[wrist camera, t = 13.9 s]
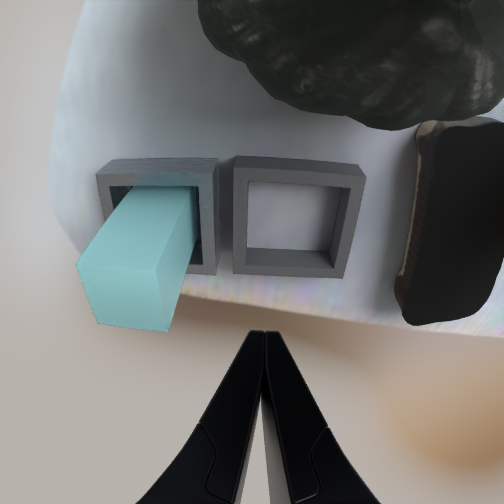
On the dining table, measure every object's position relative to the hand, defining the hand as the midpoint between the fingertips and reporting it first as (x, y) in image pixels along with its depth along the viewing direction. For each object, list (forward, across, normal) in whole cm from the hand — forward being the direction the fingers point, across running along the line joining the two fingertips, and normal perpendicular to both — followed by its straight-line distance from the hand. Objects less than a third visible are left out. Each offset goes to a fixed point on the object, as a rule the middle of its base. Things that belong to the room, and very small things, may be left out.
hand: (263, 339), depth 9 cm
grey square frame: (+13, -2, +3) cm, 13 cm away
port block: (+13, +6, +3) cm, 15 cm away
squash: (+13, -4, -12) cm, 18 cm away
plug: (+13, +6, +3) cm, 15 cm away
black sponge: (+14, -14, +2) cm, 20 cm away
